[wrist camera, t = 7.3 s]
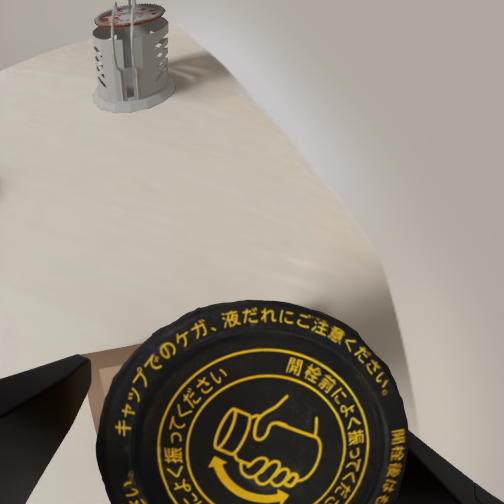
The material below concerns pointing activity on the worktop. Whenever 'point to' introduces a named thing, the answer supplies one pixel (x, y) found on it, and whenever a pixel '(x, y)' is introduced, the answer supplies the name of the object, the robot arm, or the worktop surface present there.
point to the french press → (131, 58)
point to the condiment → (253, 413)
